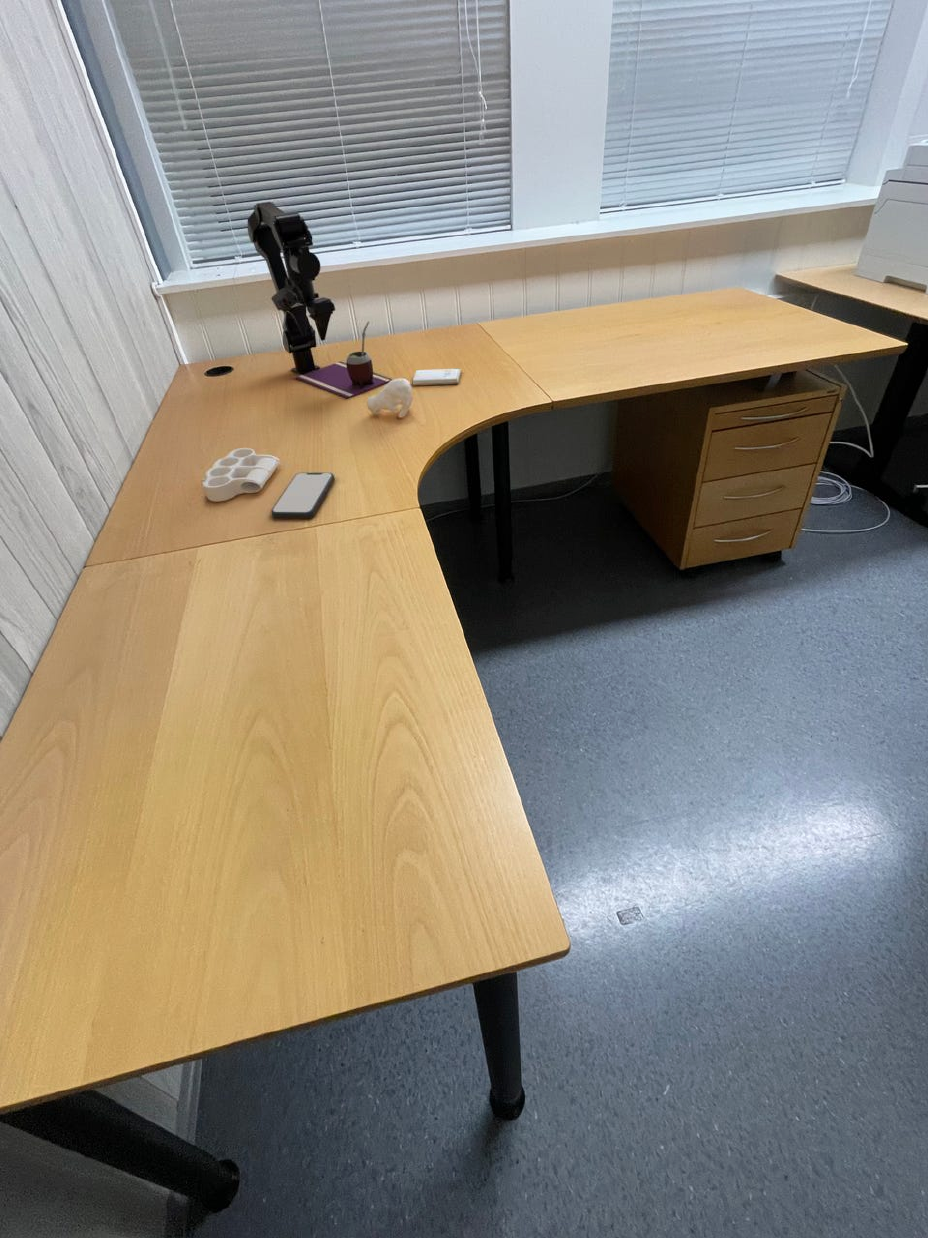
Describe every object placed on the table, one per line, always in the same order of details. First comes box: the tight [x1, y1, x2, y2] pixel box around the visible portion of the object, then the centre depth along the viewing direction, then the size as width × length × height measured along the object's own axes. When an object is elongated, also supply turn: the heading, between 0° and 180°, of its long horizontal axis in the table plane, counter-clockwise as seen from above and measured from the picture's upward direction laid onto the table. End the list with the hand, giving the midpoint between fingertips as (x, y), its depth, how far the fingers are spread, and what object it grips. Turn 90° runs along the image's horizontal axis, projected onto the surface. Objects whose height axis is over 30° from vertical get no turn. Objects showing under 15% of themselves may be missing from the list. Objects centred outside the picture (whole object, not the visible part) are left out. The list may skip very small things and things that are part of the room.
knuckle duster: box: [201, 447, 281, 503], centre depth 130 cm, size 3×18×15 cm
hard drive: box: [412, 368, 461, 386], centre depth 168 cm, size 2×8×12 cm
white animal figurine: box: [366, 378, 413, 419], centre depth 150 cm, size 6×8×12 cm
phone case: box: [270, 472, 335, 520], centre depth 123 cm, size 9×2×16 cm
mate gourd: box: [345, 321, 374, 388], centre depth 164 cm, size 8×8×15 cm
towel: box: [295, 361, 394, 400], centre depth 174 cm, size 26×16×1 cm, turn 44°
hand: (313, 337), depth 163 cm, fingers open, 9 cm apart
